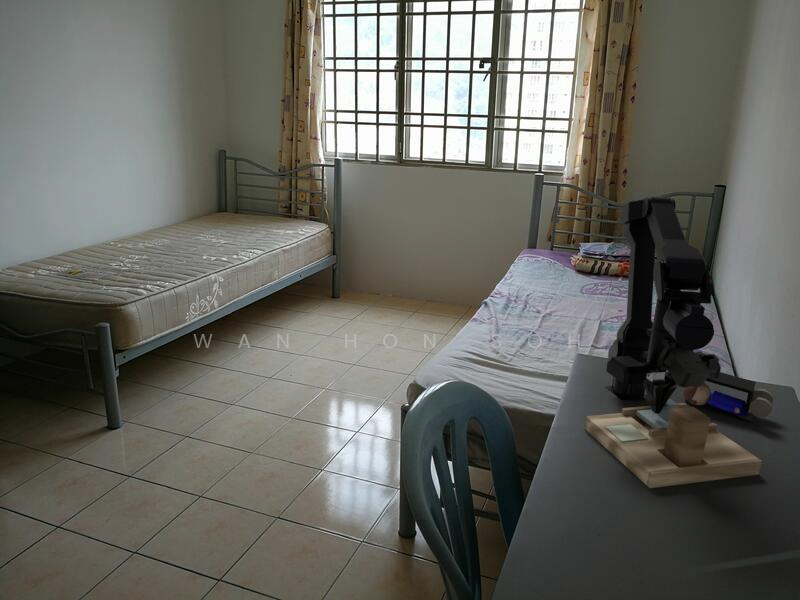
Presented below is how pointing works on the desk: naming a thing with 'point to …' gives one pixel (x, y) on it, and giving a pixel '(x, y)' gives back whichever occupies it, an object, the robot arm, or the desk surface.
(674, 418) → the peg
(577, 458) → the desk surface
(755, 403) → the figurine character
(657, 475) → the puzzle board
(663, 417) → the lid
